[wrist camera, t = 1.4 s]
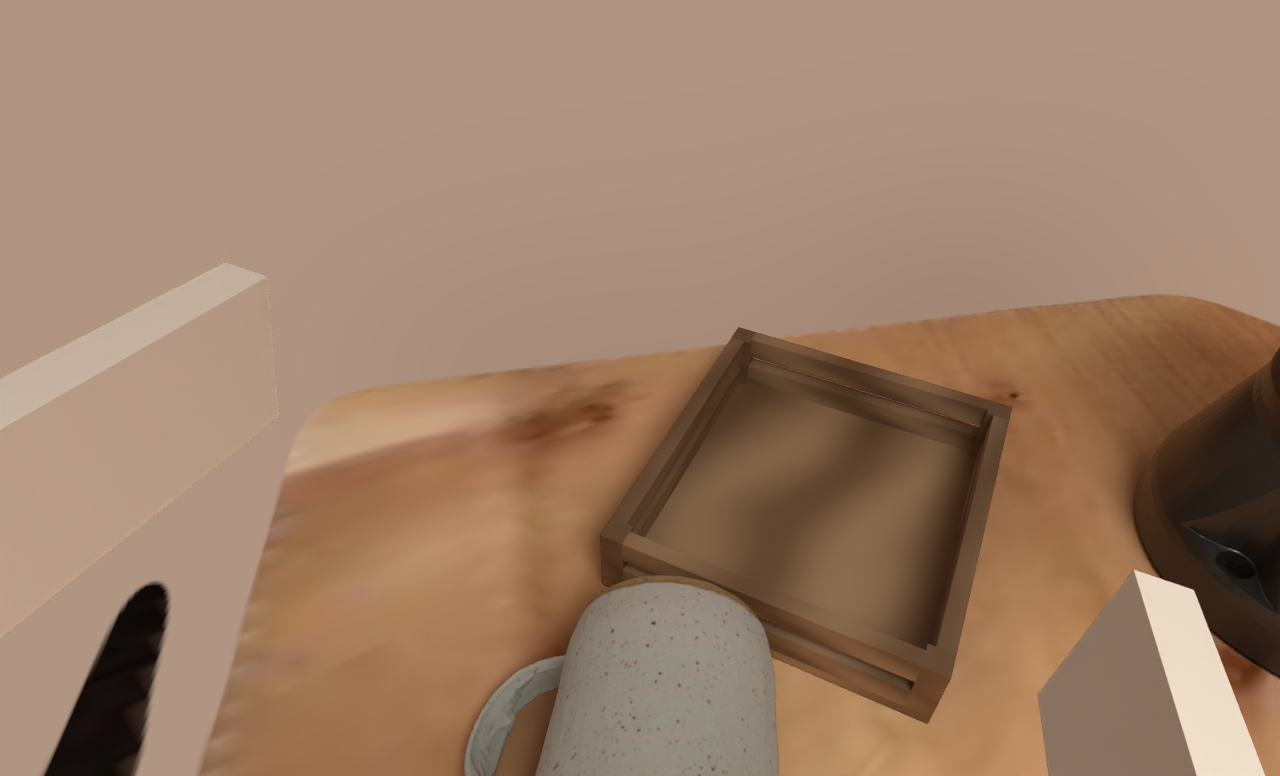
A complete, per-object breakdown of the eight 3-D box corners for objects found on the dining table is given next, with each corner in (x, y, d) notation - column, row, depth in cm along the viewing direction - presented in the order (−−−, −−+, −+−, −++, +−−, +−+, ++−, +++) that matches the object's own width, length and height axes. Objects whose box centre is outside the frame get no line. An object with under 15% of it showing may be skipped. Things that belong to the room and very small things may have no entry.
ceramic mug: (763, 678, 32) (783, 560, 27) (769, 917, 26) (796, 823, 21) (499, 658, 33) (469, 540, 28) (445, 885, 27) (393, 787, 21)
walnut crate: (991, 456, 41) (1012, 407, 38) (927, 723, 30) (951, 678, 28) (733, 375, 45) (738, 327, 43) (602, 584, 35) (600, 535, 33)
